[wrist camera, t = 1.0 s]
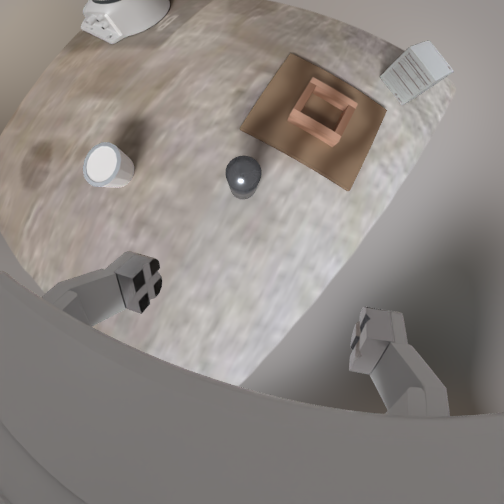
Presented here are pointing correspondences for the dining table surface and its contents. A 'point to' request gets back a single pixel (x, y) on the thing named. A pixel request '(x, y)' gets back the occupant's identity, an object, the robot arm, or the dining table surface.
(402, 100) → the supplement box
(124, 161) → the shot glass
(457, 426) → the robot arm
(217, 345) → the dining table surface
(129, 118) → the dining table surface
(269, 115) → the keeper board
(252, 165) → the peg
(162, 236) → the dining table surface
